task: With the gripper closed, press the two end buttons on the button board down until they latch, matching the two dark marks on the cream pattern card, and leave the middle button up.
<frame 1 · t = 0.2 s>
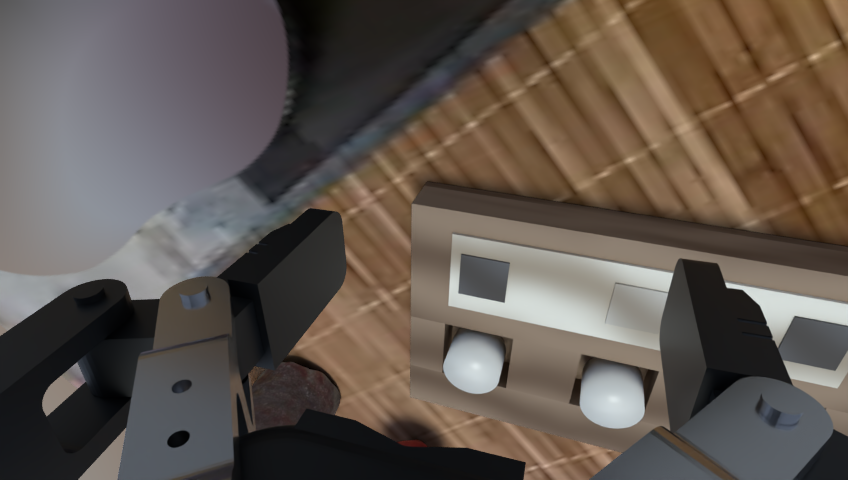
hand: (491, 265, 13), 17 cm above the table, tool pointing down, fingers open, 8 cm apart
button middle: (611, 391, 32), point 3 cm above the table, slide at 0.0 cm
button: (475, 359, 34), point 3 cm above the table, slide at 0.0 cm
candle: (304, 385, 46), on the table
button board: (620, 326, 33), on the table
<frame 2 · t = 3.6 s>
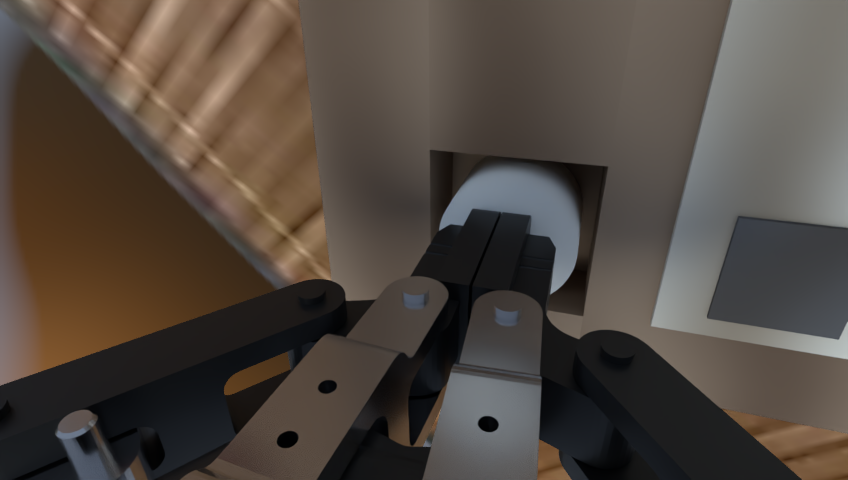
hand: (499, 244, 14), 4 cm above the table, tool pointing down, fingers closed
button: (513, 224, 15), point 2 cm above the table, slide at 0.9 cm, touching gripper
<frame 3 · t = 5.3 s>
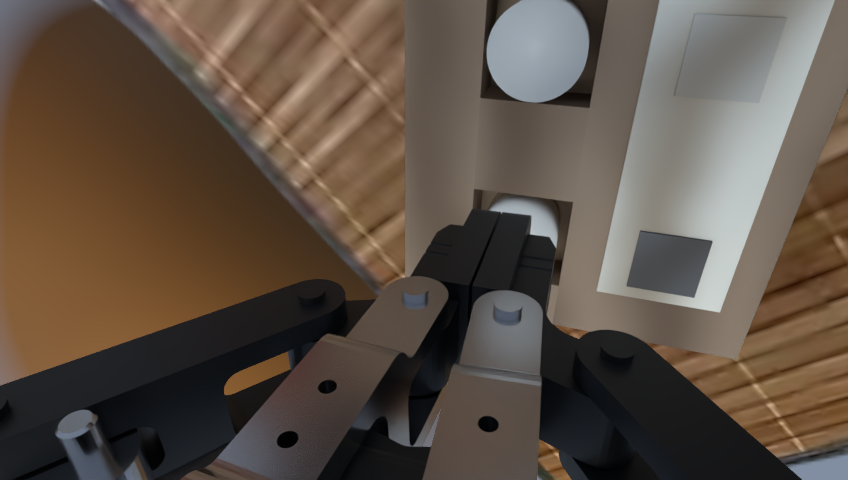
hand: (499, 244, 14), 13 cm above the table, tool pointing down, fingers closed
button middle: (539, 46, 20), point 3 cm above the table, slide at 0.0 cm
button board: (607, 38, 22), on the table
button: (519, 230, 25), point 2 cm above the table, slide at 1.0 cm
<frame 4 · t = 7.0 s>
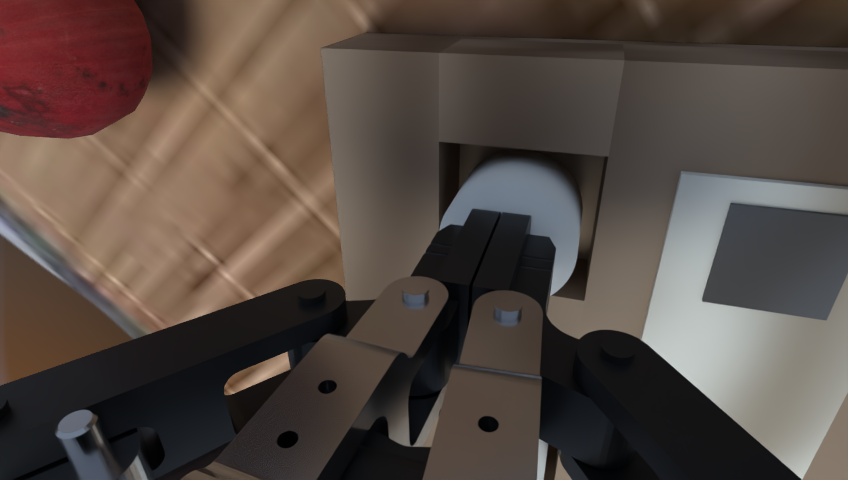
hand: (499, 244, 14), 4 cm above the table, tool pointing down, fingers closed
button middle: (495, 439, 19), point 3 cm above the table, slide at 0.0 cm
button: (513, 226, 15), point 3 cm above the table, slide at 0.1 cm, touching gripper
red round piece: (140, 24, 19), on the table
button board: (574, 389, 21), on the table
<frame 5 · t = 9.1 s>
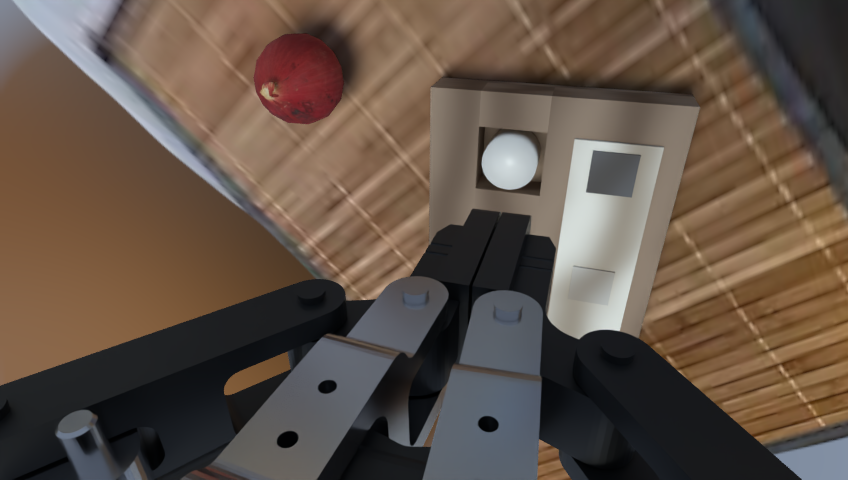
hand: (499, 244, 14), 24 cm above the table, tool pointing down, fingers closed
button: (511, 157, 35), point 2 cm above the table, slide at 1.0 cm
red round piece: (325, 68, 39), on the table
button board: (538, 254, 41), on the table
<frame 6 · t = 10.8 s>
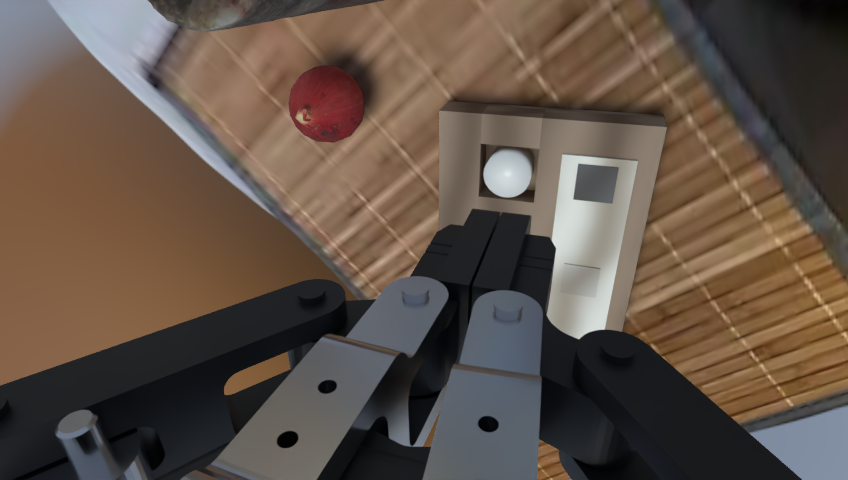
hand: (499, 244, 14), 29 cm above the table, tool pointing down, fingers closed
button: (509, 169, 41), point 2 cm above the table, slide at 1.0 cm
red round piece: (348, 93, 45), on the table
button board: (534, 254, 46), on the table
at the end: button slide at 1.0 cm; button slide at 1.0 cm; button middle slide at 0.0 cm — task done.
